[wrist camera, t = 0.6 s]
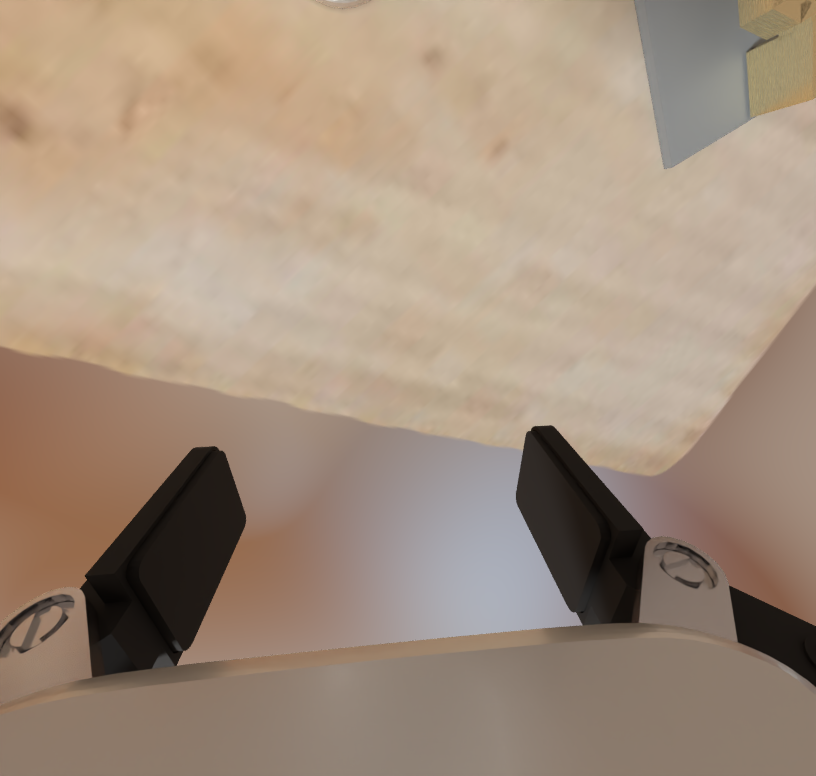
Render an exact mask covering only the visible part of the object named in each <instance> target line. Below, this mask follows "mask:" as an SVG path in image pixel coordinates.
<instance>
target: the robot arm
mask: <svg viewBox="0 0 816 776" xmlns="http://www.w3.org/2000/svg"><path fill="white" fill-rule="evenodd" d="M315 1H317V2H320V3H322V4H324V5H327V6H329V7H335V8H342V9H343V8H352V7H357V6H359V5H362V4H364V3H367V2H368V1H370V0H315ZM516 502H517V505H518V507H519V509H520V511H521V513H522V515H523V517H524V519H525V521H526V523H527V526H528V527H529V530H530V532H531V534H532V536H533V538H534V540H535V542H536V543H537V546H538V548H539V550H540V551H541V553H542V556H543V558H544V560H545V562H546V564H547V566H548V568H549V570H550V572H551V574H552V576H553V578H554V580H555V582H556V584H557V586H558V588H559V590H560V592H561V594H562V596H563V598H564V600H565V602H566V604H567V606H568V608H569V609H570V610H571V611H572V612H576V613H577V615H578V617H579V618H580V620H581V623H582V624H583V625H582V626H570V627H556V628H543V629H533V630H522V631H511V632H501V633H490V634H479V635H469V636H458V637H448V638H437V639H427V640H418V641H408V642H397V643H387V644H378V645H367V646H358V647H348V648H338V649H328V650H318V651H309V652H299V653H291V654H281V655H271V656H262V657H252V658H243V659H233V660H224V661H214V662H205V663H196V664H188V665H181V666H177V663H178V661H179V659H180V657H181V655H182V653H183V651H186V650H187V649H188V648H189V647H190V646H191V644H192V643H193V641H194V638H195V636H196V634H197V632H198V630H199V627H200V625H201V623H202V621H203V618H204V616H205V614H206V612H207V610H208V607H209V605H210V603H211V601H212V598H213V596H214V594H215V592H216V589H217V587H218V585H219V583H220V580H221V578H222V576H223V574H224V572H225V570H226V567H227V565H228V563H229V560H230V558H231V556H232V554H233V552H234V550H235V547H236V545H237V543H238V541H239V539H240V536H241V534H242V532H243V529H244V527H245V524H246V515H245V511H244V509H243V506H242V503H241V500H240V497H239V494H238V491H237V488H236V485H235V482H234V479H233V476H232V473H231V470H230V467H229V464H228V461H227V458H226V455H225V453H224V452H223V451H219V449H218V448H217V447H215V446H212V447H196V448H193V449H192V450H191V451H190V452H189V453H188V454H187V456H186V457H185V458H184V459H183V460H182V461H181V463H180V464H179V465H178V466H177V468H176V469H175V470H174V471H173V472H172V473H171V474H170V476H169V477H168V478H167V479H166V480H165V482H164V483H163V484H162V485H161V486H160V487H159V489H158V490H157V491H156V492H155V493H154V495H153V496H152V497H151V498H150V499H149V501H148V502H147V503H146V504H145V505H144V506H143V508H142V509H141V510H140V511H139V512H138V514H137V515H136V516H135V517H134V518H133V519H132V521H131V522H130V523H129V524H128V525H127V526H126V528H125V529H124V530H123V531H122V532H121V534H120V535H119V536H118V537H117V538H116V539H115V541H114V542H113V543H112V544H111V545H110V547H109V548H108V549H107V550H106V551H105V552H104V554H103V555H102V556H101V557H100V558H99V560H98V561H97V562H96V563H95V564H94V565H93V567H92V568H91V569H90V570H89V571H88V573H87V574H86V575H85V577H86V579H87V581H86V582H85V583H84V584H83V586H82V587H81V588H80V589H78V588H76V587H64V588H60V589H57V590H52V591H49V592H47V593H45V594H43V595H40V596H38V597H36V598H34V599H32V600H31V601H29V602H28V603H26V604H24V605H22V606H21V607H19V608H18V609H17V610H16V611H14V612H13V613H12V614H10V615H9V616H7V617H6V618H5V619H4V620H3V621H2V622H1V623H0V776H816V626H814V625H812V624H810V623H808V622H805V621H803V620H801V619H799V618H797V617H795V616H793V615H791V614H788V613H786V612H784V611H782V610H780V609H778V608H776V607H774V606H771V605H769V604H767V603H765V602H763V601H761V600H759V599H757V598H755V597H752V596H750V595H748V594H746V593H744V592H742V591H739V590H738V589H735V588H733V587H731V586H729V584H728V581H727V578H726V575H725V573H724V572H723V570H722V569H721V568H720V567H719V565H718V564H717V563H716V562H715V561H714V560H713V559H712V558H710V557H709V556H708V555H707V554H706V553H704V552H703V551H701V550H700V549H698V548H697V547H695V546H693V545H691V544H689V543H687V542H685V541H682V540H678V539H675V538H671V537H662V536H661V537H655V538H652V539H651V538H650V537H649V536H648V535H647V533H646V532H645V531H644V529H643V528H642V527H641V526H640V524H639V523H638V522H637V521H636V520H635V519H634V518H633V516H632V515H631V514H630V513H629V512H628V511H627V510H626V508H625V507H624V506H623V505H622V504H621V503H620V502H619V501H618V499H617V498H616V497H615V496H614V495H613V494H612V493H611V491H610V490H609V489H608V488H607V487H606V486H605V484H604V483H603V482H602V481H601V480H600V479H599V478H598V476H597V475H596V474H595V473H594V472H593V471H592V470H591V468H590V467H589V466H588V465H587V464H586V463H585V462H584V460H583V459H582V458H581V457H580V456H579V455H578V454H577V452H576V451H575V450H574V449H573V448H572V447H571V446H570V444H569V443H568V442H567V441H566V440H565V439H564V438H563V436H562V435H561V434H560V433H559V432H558V431H557V430H556V428H555V427H553V426H551V425H549V426H534V427H533V428H532V429H531V431H528V432H527V433H526V437H525V443H524V449H523V455H522V461H521V468H520V473H519V479H518V485H517V491H516Z"/></svg>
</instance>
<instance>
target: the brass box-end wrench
mask: <svg viewBox="0 0 816 776" xmlns="http://www.w3.org/2000/svg"><path fill="white" fill-rule="evenodd" d="M738 9H739V23H740V27H741V28H743V29H745V30H747V31H749V32H751V33H753V34H755V35H757V36H759V37H761V38H763V39H765V40H767V39H769V38H771V37H773V36H776V35H778V36H776V37H774V38H772V39H770V40H768V41H766V42H764V43H762V44H759V45H758V46H756V47H755V48H753V49H751V50H750V51H748V52H747V53H746V58H747V73H748V88H749V103H750V118H751V117H755V116H758V115H762V114H765V113H768V112H772V111H775V110H779V109H782V108H785V107H789V106H792V105H796V104H799V103H802V102H806V101H809V100H812V99H814V98H816V0H738Z"/></svg>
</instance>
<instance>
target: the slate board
mask: <svg viewBox="0 0 816 776" xmlns="http://www.w3.org/2000/svg"><path fill="white" fill-rule="evenodd" d="M634 1H635V7H636V13H637V18H638V24H639V30H640V35H641V41H642V46H643V52H644V58H645V63H646V69H647V75H648V80H649V86H650V92H651V97H652V103H653V108H654V114H655V120H656V125H657V131H658V137H659V142H660V148H661V153H662V159H663V165H664V169H667V168H672V167H674V166H675V165H677V164H679V163H680V162H682V161H684V160H685V159H687V158H689V157H690V156H692V155H694V154H695V153H697V152H699V151H700V150H702V149H703V148H705V147H707V146H708V145H710V144H712V143H713V142H715V141H717V140H718V139H720V138H722V137H723V136H725V135H727V134H728V133H730V132H732V131H733V130H735V129H736V128H738V127H740V126H741V125H743V124H745V123H746V122H748V121H750V120H751V119H753V118H755V117H756V116H755V117H751V118H750V103H749V88H748V73H747V58H746V53H747V52H748V51H750V50H751V49H753V48H755V47H756V46H758V45H759V44H762V43H764V42H766V41H768V40H770V39H772V38H774V37H776V36H778V35H776V36H773V37H771V38H769V39H767V40H765V39H763V38H761V37H759V36H757V35H755V34H753V33H751V32H749V31H747V30H745V29H743V28H741V27H740V23H739V9H738V0H634Z"/></svg>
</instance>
